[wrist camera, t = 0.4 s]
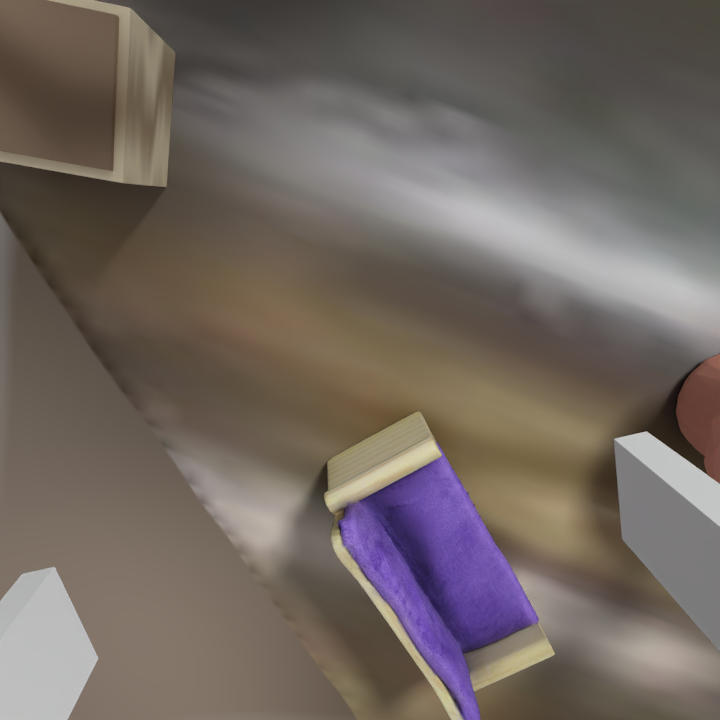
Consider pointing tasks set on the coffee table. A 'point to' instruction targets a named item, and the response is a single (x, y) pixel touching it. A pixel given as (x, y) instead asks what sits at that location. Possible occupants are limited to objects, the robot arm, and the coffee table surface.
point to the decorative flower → (702, 413)
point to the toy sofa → (431, 564)
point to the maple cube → (84, 90)
